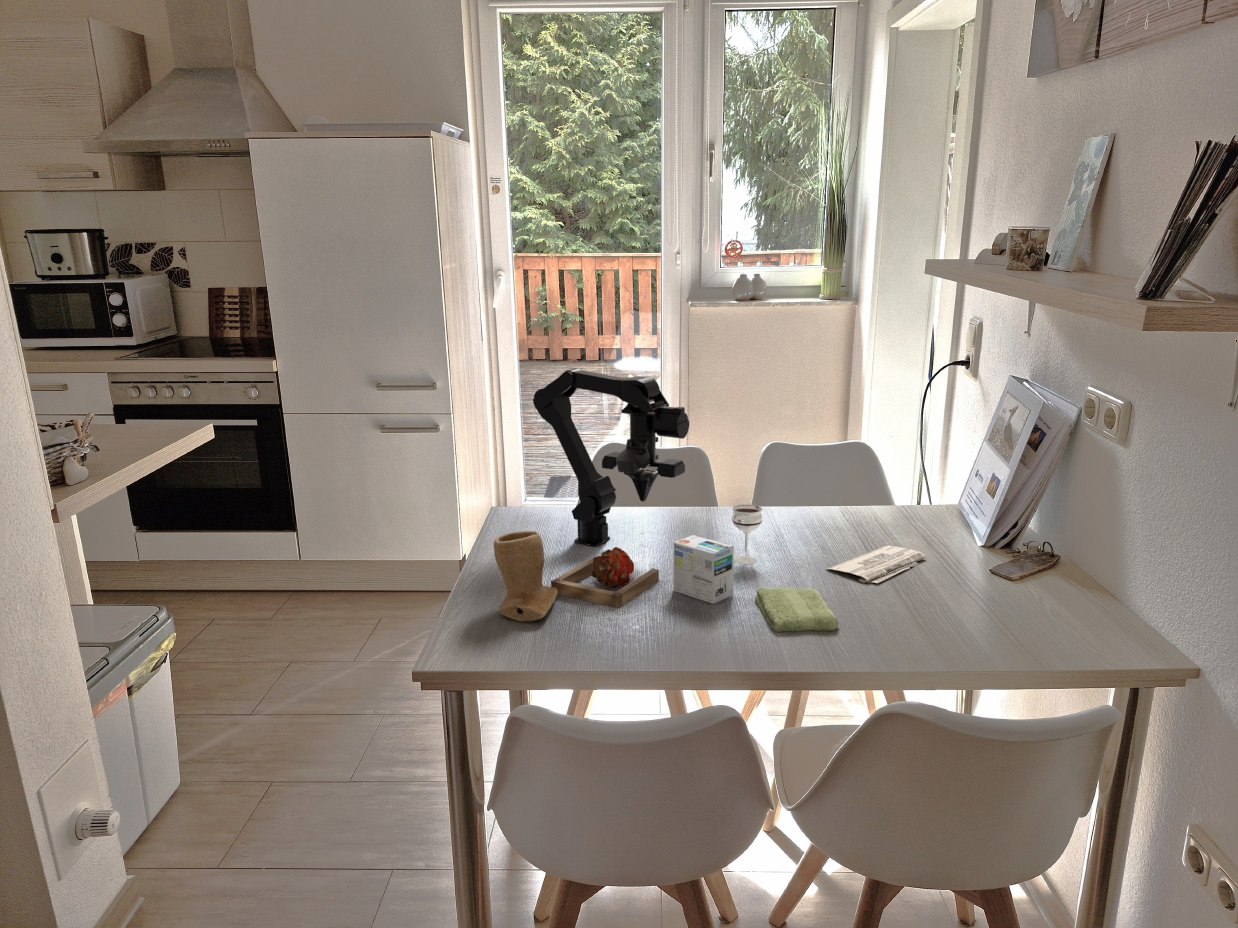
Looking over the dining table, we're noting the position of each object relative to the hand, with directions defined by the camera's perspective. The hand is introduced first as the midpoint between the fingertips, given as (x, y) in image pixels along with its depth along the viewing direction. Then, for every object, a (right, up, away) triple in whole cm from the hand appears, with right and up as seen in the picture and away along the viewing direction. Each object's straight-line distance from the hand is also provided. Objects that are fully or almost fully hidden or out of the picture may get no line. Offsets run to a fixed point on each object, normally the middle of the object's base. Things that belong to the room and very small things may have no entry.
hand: (643, 500), depth 200 cm
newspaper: (+52, -15, -7) cm, 54 cm away
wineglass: (+23, -13, -4) cm, 27 cm away
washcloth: (+28, -21, -32) cm, 47 cm away
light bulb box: (+12, -18, -22) cm, 31 cm away
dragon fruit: (-7, -17, -16) cm, 24 cm away
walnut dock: (-8, -17, -17) cm, 25 cm away
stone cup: (-24, -20, -28) cm, 42 cm away
